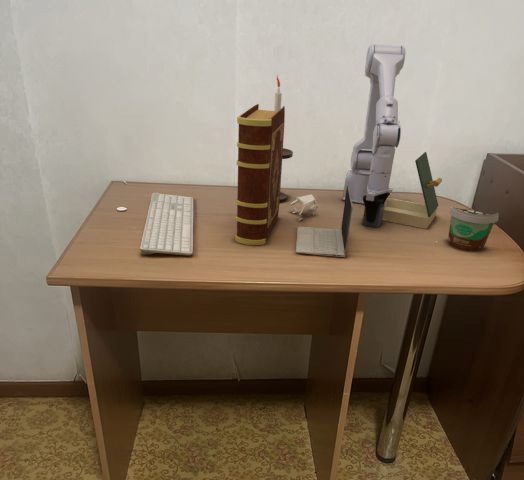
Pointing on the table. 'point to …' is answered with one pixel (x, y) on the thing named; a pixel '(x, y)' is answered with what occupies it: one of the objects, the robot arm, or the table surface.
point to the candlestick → (286, 152)
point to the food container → (470, 228)
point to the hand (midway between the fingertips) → (372, 219)
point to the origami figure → (305, 203)
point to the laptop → (326, 236)
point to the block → (377, 220)
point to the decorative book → (259, 173)
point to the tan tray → (407, 213)
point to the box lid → (427, 183)
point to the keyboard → (169, 225)
